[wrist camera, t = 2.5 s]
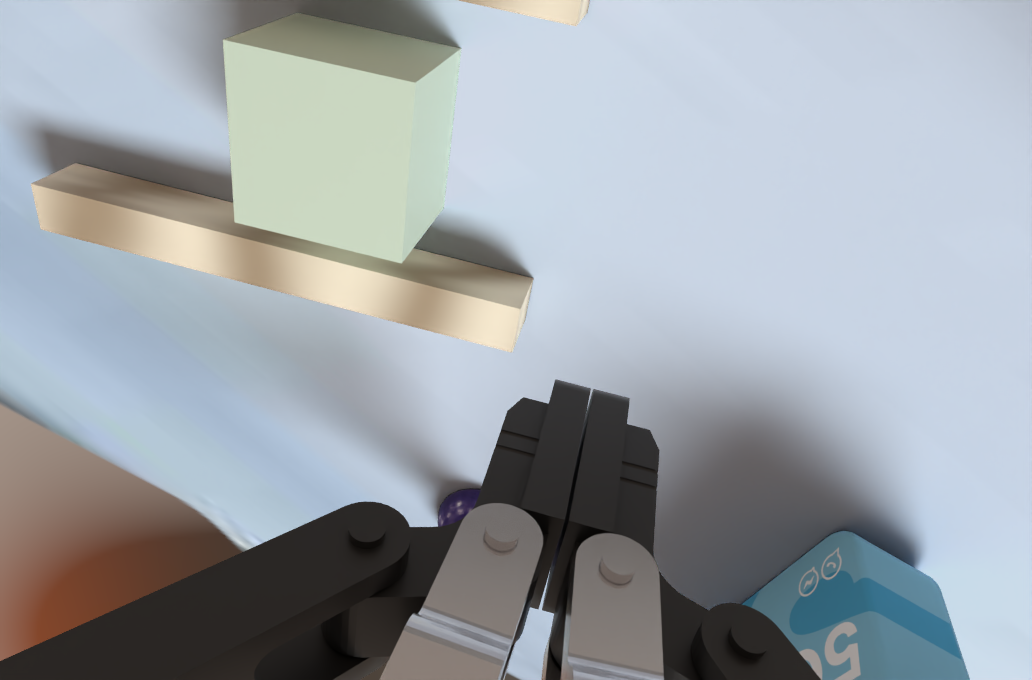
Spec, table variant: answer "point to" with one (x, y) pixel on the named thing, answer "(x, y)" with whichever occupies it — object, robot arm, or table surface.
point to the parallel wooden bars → (295, 244)
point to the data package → (862, 614)
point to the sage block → (339, 132)
